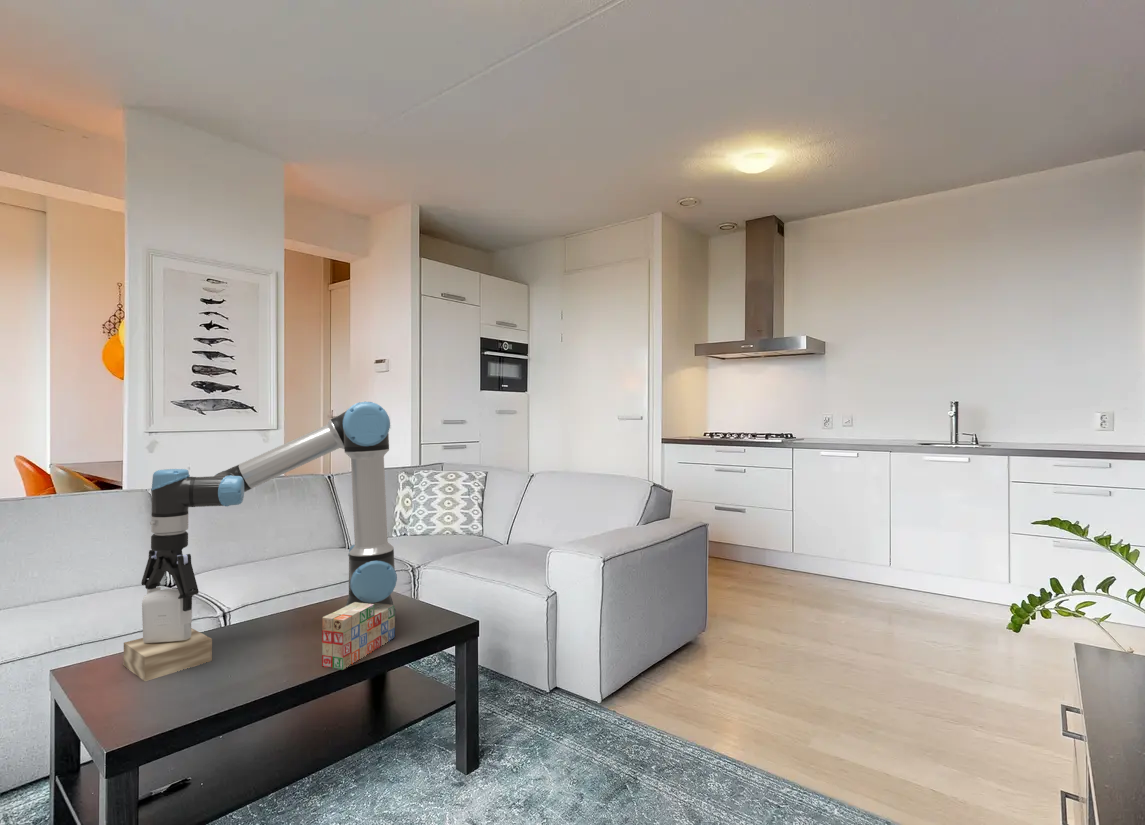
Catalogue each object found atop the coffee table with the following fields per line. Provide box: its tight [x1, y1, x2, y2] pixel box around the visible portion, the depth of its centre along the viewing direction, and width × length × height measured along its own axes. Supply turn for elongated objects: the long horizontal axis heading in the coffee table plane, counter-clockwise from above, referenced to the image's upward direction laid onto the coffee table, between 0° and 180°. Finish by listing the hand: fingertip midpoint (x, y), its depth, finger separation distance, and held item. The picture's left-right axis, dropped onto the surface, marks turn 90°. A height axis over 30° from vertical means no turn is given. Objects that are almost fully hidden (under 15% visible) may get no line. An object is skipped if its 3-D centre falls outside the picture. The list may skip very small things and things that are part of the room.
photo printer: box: [141, 588, 192, 643], centre depth 144 cm, size 10×4×12 cm, turn 99°
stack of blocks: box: [321, 602, 396, 671], centre depth 152 cm, size 21×6×12 cm, turn 163°
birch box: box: [122, 627, 213, 682], centre depth 144 cm, size 14×14×6 cm
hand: (168, 619), depth 144 cm, fingers open, 13 cm apart
